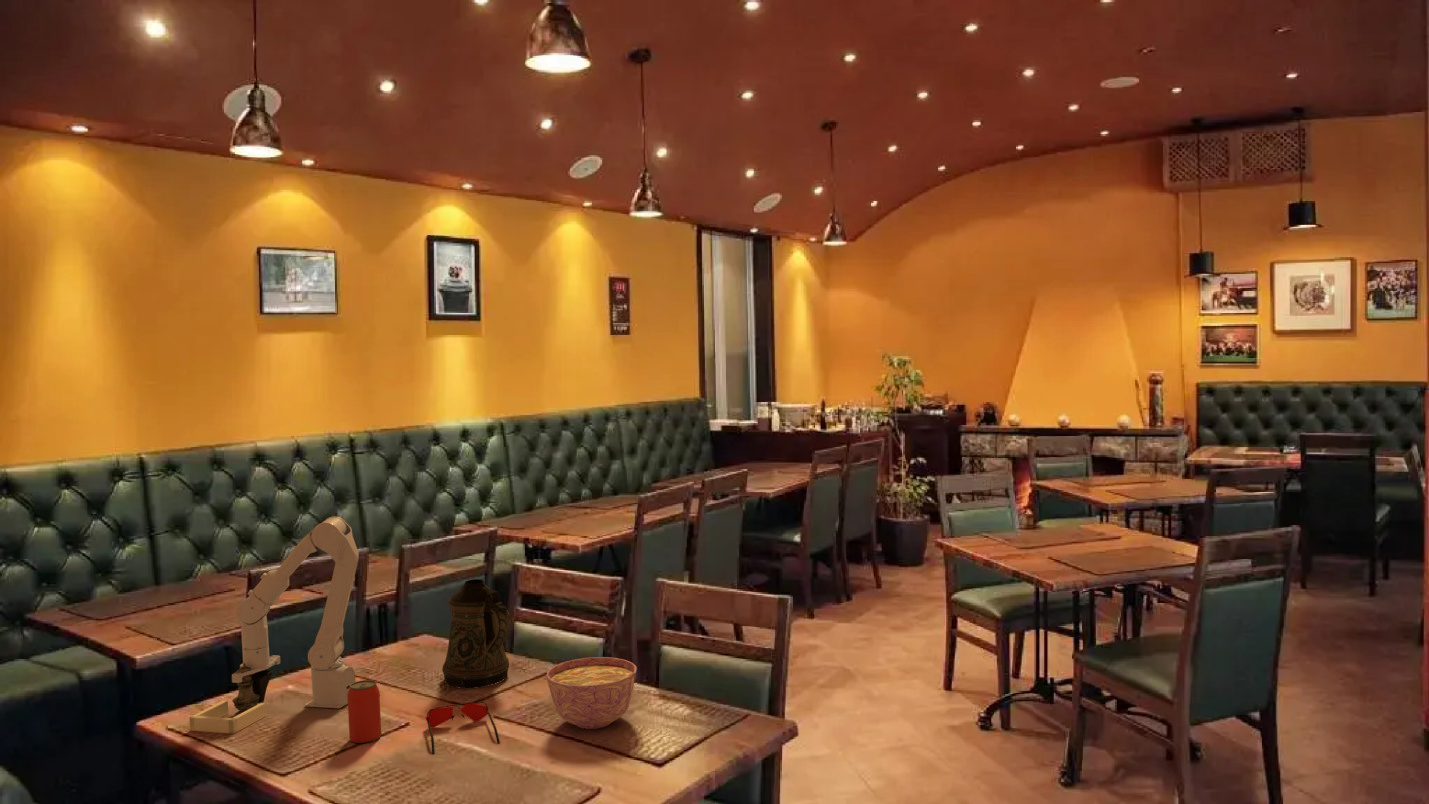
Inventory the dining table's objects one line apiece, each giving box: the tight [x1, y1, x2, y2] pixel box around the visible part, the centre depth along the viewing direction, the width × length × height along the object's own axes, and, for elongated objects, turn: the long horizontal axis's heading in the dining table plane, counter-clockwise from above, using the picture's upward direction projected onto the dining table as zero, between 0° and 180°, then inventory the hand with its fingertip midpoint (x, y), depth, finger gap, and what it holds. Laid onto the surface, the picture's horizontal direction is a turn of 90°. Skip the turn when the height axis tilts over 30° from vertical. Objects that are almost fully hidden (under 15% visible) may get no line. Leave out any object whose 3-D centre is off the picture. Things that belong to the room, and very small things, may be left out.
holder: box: [188, 700, 267, 735], centre depth 232 cm, size 11×11×3 cm
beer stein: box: [441, 578, 512, 689], centre depth 258 cm, size 16×19×25 cm
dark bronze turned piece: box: [231, 663, 260, 717], centre depth 238 cm, size 6×6×12 cm
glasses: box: [425, 701, 501, 755], centre depth 221 cm, size 14×16×5 cm
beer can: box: [347, 679, 382, 744], centre depth 220 cm, size 7×7×12 cm
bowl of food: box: [545, 656, 638, 730], centre depth 226 cm, size 20×20×12 cm
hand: (258, 702), depth 242 cm, fingers closed
